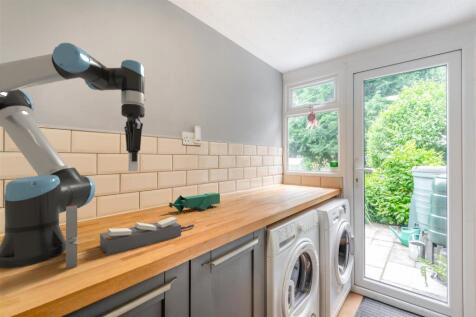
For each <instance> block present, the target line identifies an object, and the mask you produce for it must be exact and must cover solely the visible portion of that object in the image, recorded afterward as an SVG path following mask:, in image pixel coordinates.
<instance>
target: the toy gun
mask: <svg viewBox="0 0 476 317" xmlns="http://www.w3.org/2000/svg"><path fill="white" fill-rule="evenodd" d="M65 212H66V213H65V240H66V250H65V270H68V269H72V268H76V267H78V208H77V206H75V205H69V206H68V207H66V211H65Z"/></svg>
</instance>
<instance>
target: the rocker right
mask: <svg viewBox="0 0 476 317" xmlns="http://www.w3.org/2000/svg"><path fill="white" fill-rule="evenodd" d="M177 222H178V218H177V217H175V216H170V217H167V218H165V219H162V220H160V221H157V225H158V226H159V227H161V228H164V227H166V226H168V225H171V224H173V223H177Z"/></svg>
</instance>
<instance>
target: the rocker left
mask: <svg viewBox="0 0 476 317" xmlns="http://www.w3.org/2000/svg"><path fill="white" fill-rule="evenodd" d="M129 228H130V227H126V228H125V227H124V228H121V227H120V228H118V227H117V228H108V229H107V231H106V232H107V233H108V234H109V235H110V236H118V235H131V234H132V231H131V230H130V229H129Z"/></svg>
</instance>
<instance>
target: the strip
mask: <svg viewBox="0 0 476 317" xmlns="http://www.w3.org/2000/svg"><path fill="white" fill-rule="evenodd" d="M157 222H158V221H157ZM157 222H152V223H150V224H151V225H154V226H156V227H157V228H156V230H146V229H138V228H137V227H135V226H133V227H128V228H129V229H130V230H131V231H132V234H131V235H118V236H110V235H109V234H108V233H107V232H108V231H106V232H102V233H99V246H100V248H101V250H103V252H104V253H105V255H106V256H110V255H114V254H118V253H121V252H125V251H129V250H132V249H133V250H134V249H135V248H139V247H140V248H141V247H145V246H149V245H151V244H155V243H161V242H164V241H167V240H170V239H175V238H178V237H182V230H186V229H189V228H190V229H191V228H194V227H195V224H189V225H185V226H182V224H180V223H177V222H175V223H173V224H171V225H168V226H166V227H164V228H161V227H159V226H158V225H157Z"/></svg>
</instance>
